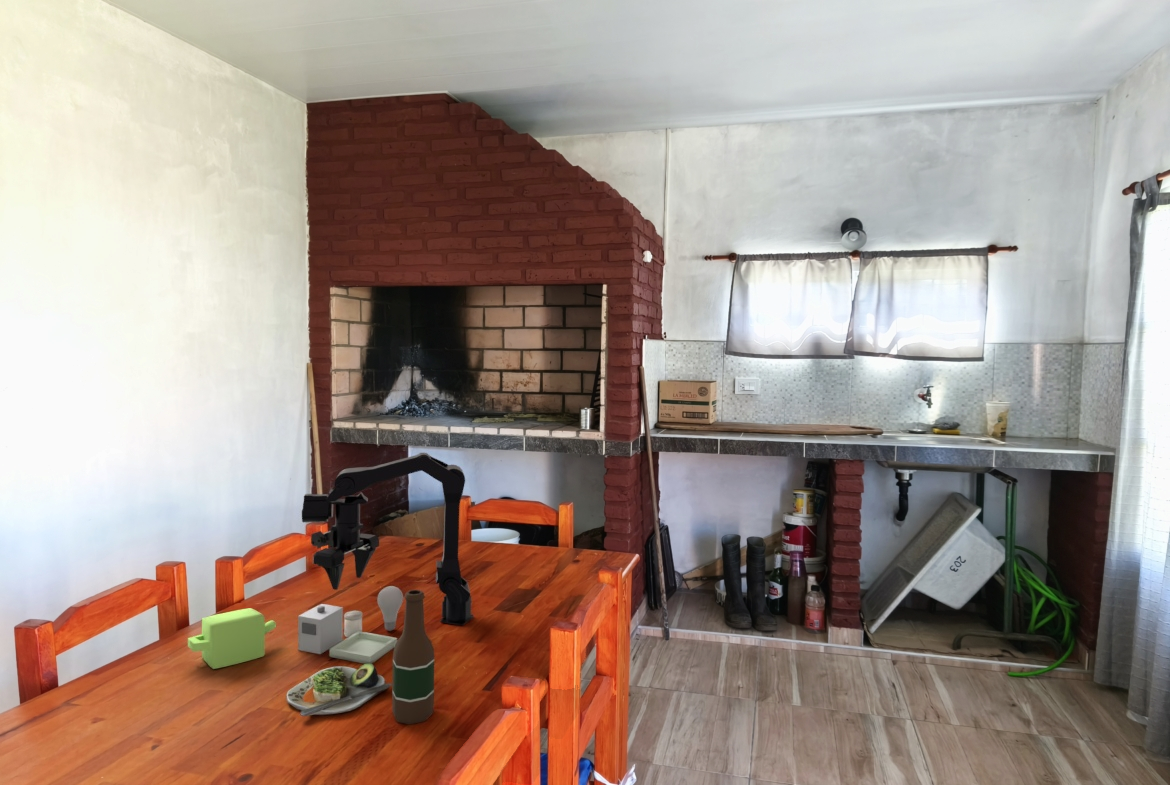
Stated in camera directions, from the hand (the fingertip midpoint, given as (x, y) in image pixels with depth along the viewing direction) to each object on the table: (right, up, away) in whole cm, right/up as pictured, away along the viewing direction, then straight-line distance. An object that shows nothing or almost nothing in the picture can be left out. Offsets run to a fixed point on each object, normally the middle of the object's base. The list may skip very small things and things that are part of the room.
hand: (347, 583), depth 174 cm
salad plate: (+9, -14, -32) cm, 36 cm away
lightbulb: (+11, -12, -1) cm, 16 cm away
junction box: (-3, -12, -10) cm, 16 cm away
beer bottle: (+26, -15, -39) cm, 49 cm away
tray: (+8, -12, -12) cm, 19 cm away
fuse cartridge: (+3, -11, -3) cm, 12 cm away
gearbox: (-19, -12, -16) cm, 28 cm away
